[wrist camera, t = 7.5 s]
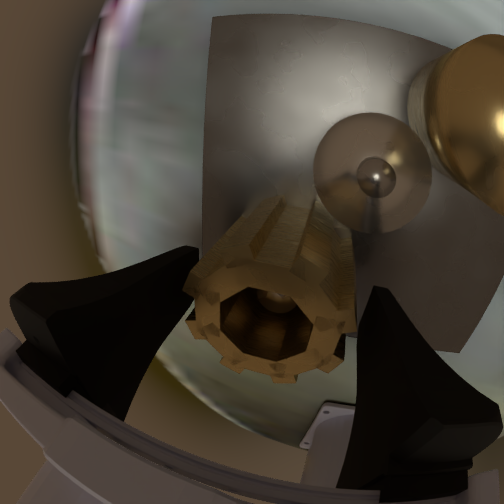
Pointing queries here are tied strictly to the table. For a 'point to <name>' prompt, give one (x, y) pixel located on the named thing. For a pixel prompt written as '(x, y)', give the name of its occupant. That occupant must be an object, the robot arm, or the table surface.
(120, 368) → the robot arm
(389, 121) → the plate
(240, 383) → the table surface
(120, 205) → the table surface
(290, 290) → the gear
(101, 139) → the table surface
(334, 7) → the table surface
